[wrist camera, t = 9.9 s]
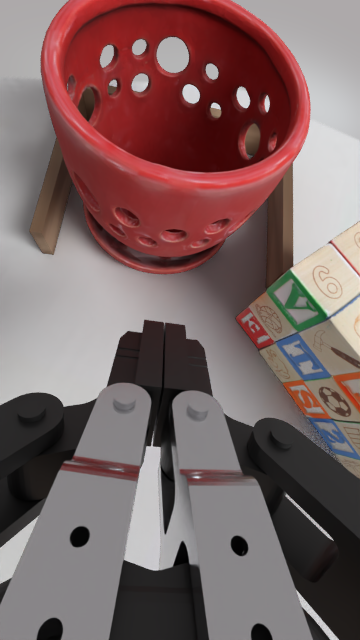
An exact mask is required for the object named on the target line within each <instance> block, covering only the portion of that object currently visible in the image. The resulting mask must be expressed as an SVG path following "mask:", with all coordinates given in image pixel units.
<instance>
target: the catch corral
mask: <svg viewBox="0 0 360 640" xmlns="http://www.w3.org/2000/svg"><path fill="white" fill-rule="evenodd" d="M116 88H117V87H114V86H109V85H108V94H109V95H112V94H113V93H114V92H115V91H116ZM134 92H137V91H134ZM137 93H140V92H137ZM94 104H95V99H94V93H93V91H92V89H91V88H90V87H87V88H86V90H85V91H84V92H83V94H82V96H81V99H80V101H79V104H78V111H79V112H80V113H81V115H82V116H83V117H84V118H85V119H86V120H87V122H88V121H89V120H90V118H91V116H92V113H93V110H94ZM190 104H192V103H190ZM210 111H211V114H212V115H213V117H214V118H219V117H220V115H221V110H219V109H215V108H210ZM259 142H260V131H259V129H258V127H257V125H256V124H252V125H251V126H250V128H249V129H248V131H247V133H246V138H245V151H246V154H251V155H255V154H256V152H257V150H258V147H259ZM275 146H276V144H275ZM71 185H72V179H71V176H70V174H69V172H68V169H67V167H66V164H65V161H64V158H63V155H62V151H61V148H60V145H59V142H58V139H57V138H56V141H55V145H54V148H53V152H52V155H51V158H50V162H49V165H48V169H47V172H46V175H45V179H44V182H43V186H42V189H41V193H40V196H39V199H38V203H37V206H36V210H35V213H34V217H33V220H32V223H31V227H30V230H29V231H30V233H31V235H32V236H33V238H34V240H35V241H36V243H37V245H38V246H39V248H40V249H41V251H42V253H45V254H52V255H54V251H55V247H56V243H57V239H58V235H59V232H60V228H61V224H62V220H63V216H64V212H65V208H66V204H67V201H68V197H69V193H70V189H71ZM292 267H293V163H292V164H291V166H290V167H289V169H288V170H287V172H286V173H285V175H284V176H283V178H282V179H281V181H280V182H279V183H278V185H277V186H276V187H275V189H274V190H273V192H272V193H271V194H270V195H269V197H268V222H267V265H266V288H267V289H268V288H269V287H270V286H271V285H272V284H273V283H274V282H276V281H277V280H278V279H279V278H280V277H281V276H282V275H283V274H284V273H286V272H287V271H288V270H289V269H290V268H292Z"/></svg>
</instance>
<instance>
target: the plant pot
mask: <svg viewBox="0 0 360 640" xmlns="http://www.w3.org/2000/svg"><path fill="white" fill-rule="evenodd" d="M168 37H177V38H179V39H181V40H182V41H183V42H184V43H185V45H186V46H187V49H188V52H189V62H188V65H187V67H186V68H185V69H184V70H183V71H181V72H178V73H169V72H167V71H165V70H164V69H162V67H161V66H160V65H159V63H158V61H157V57H156V53H157V49H158V46H159V44H160V42H161V41H162V40H164V39H165V38H168ZM139 39H143V40H145V41H146V44H147V46H146V49H145V51H144V52H143V53H142V54H141V55H134V54H133V52H132V46H133V44H134V42H135V41H136V40H139ZM107 45H112V46H113V47H114V56H113V59H112V61H111V62H110V63H109V65H107V66H106V67H104V68H102V67H101V65H100V56H101V53H102V50H103V48H104V47H105V46H107ZM209 63H212V64H214V65H215V66H216V67H217V68H218V72H219V74H218V78H217V79H215V80H212V79H210V78H209V77H208V76H207V74H206V70H205V69H206V65H207V64H209ZM140 73H144V74H146V75H147V76H148V79H149V83H148V86H147V88H146V89H145V90H144V91H143V92H140V93H137V92H134V91H133V90H132V87H131V84H132V81H133V79H134V77H135V76H136V75H138V74H140ZM41 75H42V81H43V87H44V92H45V96H46V101H47V105H48V109H49V113H50V117H51V120H52V124H53V127H54V130H55V133H56V136H57V139H58V142H59V145H60V148H61V151H62V155H63V158H64V161H65V164H66V167H67V169H68V172H69V174H70V176H71V179H72V181H73V183H74V185H75V187H76V189H77V191H78V193H79V195H80V197H81V199H82V200H83V208H84V214H85V218H86V222H87V224H88V227H89V229H90V231H91V233H92V235H93V236H94V238H95V239H96V241H97V242H98V243H99V245H100V246H101V247H102V248H103V249H104V250H105V251H106V252H107V253H108V254H109V255H111V256H112V257H113V258H115V259H116V260H118V261H119V262H121V263H122V264H124V265H126V266H128V267H131V268H133V269H136V270H139V271H142V272H147V273H154V274H174V273H181V272H184V271H188V270H191V269H193V268H196V267H198V266H200V265H201V264H203V263H205V262H206V261H207V260H209V259H210V258H211V257H212V256H214V255H215V254H216V253H217V251H218V250H219V249H220V248H221V246H222V245H223V243H224V242H225V240H226V238H227V237H229V236H230V235H231V234H232V233H234V232H235V231H236V230H237V229H238V228H240V227H241V226H242V225H243V224H244V223H245V222H246V221H247V220H248V219H249V218H250V217H251V216H252V215H253V214H254V213H255V211H256V210H257V209H258V208H259V207H260V206H261V205H262V204H263V203H264V202H265V200H266V199H267V198H268V197H269V195H270V194H271V193H272V192H273V190H274V189H275V187H276V186H277V185H278V183H279V182H280V181H281V179H282V178H283V176H284V175H285V173H286V172H287V170H288V169H289V167H290V166H291V164H292V163H293V161H294V160H295V158H296V157H297V155H298V154H299V152H300V150H301V148H302V146H303V144H304V142H305V139H306V136H307V133H308V129H309V122H310V110H311V109H310V97H309V92H308V87H307V84H306V81H305V78H304V75H303V74H302V71H301V69H300V67H299V65H298V63H297V61H296V59H295V58H294V56H293V54H292V53H291V51H290V50H289V49H288V47H287V46H286V45H285V44H284V42H283V41H282V40H281V39H280V38H279V36H278V35H277V34H276V33H275V32H274V31H273V30H272V29H271V28H270V27H268V26H267V25H266V24H265V23H264V22H263V21H261V20H260V19H259V18H257V17H256V16H254V15H253V14H251V13H250V12H249V11H247V10H246V9H244V8H242V7H241V6H240V5H238V4H236V3H234V2H233V1H231V0H69V1H68V2H67V3H66V4H65V5H64V6H63V7H62V8H61V9H60V10H59V12H58V13H57V14H56V16H55V17H54V19H53V20H52V22H51V24H50V26H49V28H48V30H47V32H46V35H45V38H44V41H43V46H42V51H41ZM112 80H116V81H117V88H116V91H115V92H114V93H113V94H112V95H109V94H108V85H109V83H110V82H111V81H112ZM67 83H68V91H67ZM187 84H191V85H194V86H195V87H196V88H197V89H198V90H199V92H200V99H199V101H198V102H197V103H195V104H190V103H188V102H187V101H186V100H185V99H184V97H183V95H182V91H183V87H184V86H185V85H187ZM241 86H242V87H244V88H246V90H247V93H248V95H249V97H250V105H249V107H248V108H243V107H242V106H241V105H240V104H239V102H238V100H237V96H236V94H237V90H238V88H239V87H241ZM87 87H90V88H91V89H92V91H93V93H94V99H95V104H94V110H93V113H92V116H91V118H90V120H89V122H87V120H86V119H85V118H84V117H83V116H82V115H81V113H80V112H79V111H78V104H79V101H80V99H81V96H82V94H83V92H84V91H85V90H86V88H87ZM267 95H268V97H269V100H270V107H269V111H268V112H266V111H265V105H264V102H265V98H266V96H267ZM212 103H217V104H219V105H220V107H221V115H220V117H219V118H214V117H213V115H212V114H211V111H210V108H211V104H212ZM252 124H256V125H257V127H258V129H259V131H260V142H259V147H258V150H257V152H256V154H255V155H254V156H253V157H252V158H251V159H249V158H248V156H247V154H246V151H245V138H246V133H247V131H248V129H249V128H250V126H251V125H252ZM275 144H276V146H275Z"/></svg>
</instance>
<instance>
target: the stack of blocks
mask: <svg viewBox="0 0 360 640" xmlns="http://www.w3.org/2000/svg"><path fill="white" fill-rule="evenodd" d="M236 320H237V321H238V323H239V324H240V325H241V327H242V328H243V329H244V331H245V332H246V333H247V335H248V336H249V337H250V338H251V340H252V341H253V343H254V344H255V345H256V347H257V348H258V349H259V352H260V354H261V355H262V357H263V358H264V359H265V361H266V362H267V364H268V365H269V366H270V368H271V369H272V370H273V372H274V373H275V374H276V376H277V377H278V378H279V380H280V381H281V382H282V383H283V385H284V387H285V388H286V390H287V391H288V392H289V394H290V395H291V397H292V398H293V399H294V401H295V402H296V404H297V405H298V406H299V408H300V409H301V410H302V412H303V413H304V415H305V416H307V417H308V418H309V420H310V421H311V423H312V424H313V425H314V427H315V428H316V429H317V431H318V432H319V434H320V435H321V436H322V438H323V439H324V440H325V442H326V443H327V444H328V446H329V447H330V449H331V450H332V451H333V452H334V453H335V455H336V456H337V458H338V459H339V461H340V462H341V463H342V465H343V466H344V467H345V468H346V469H347V470H349V471H350V472H351V473H352V474H354V475H355V476H356V477H358V478H359V479H360V221H359V222H357V223H356V224H354V225H353V226H352V227H350V228H349V229H347V230H346V231H344V232H343V233H341V234H340V235H338V236H337V237H335V238H334V239H332V240H331V241H330V242H328V243H327V244H326V245H325V246H323V247H322V248H320V249H318V250H317V251H316V252H314V253H313V254H311V255H310V256H308V257H307V258H305V259H304V260H302V261H301V262H299V263H298V264H296V265H295V266H293V267H292V268H290V269H289V270H288V271H287V272H286V273H284V274H283V275H282V276H281V277H280V278H279V279H278V280H277V281H276V282H274V283H273V284H272V285H271V286H270V287H269V288H268V289H267V290H266V292H264V293H263V294H262V295H260V296H259V297H258V298H257V299H256V300H254V301H253V302H252V303H251V304H250V305H249V307H247V308H246V309H245V310H243V311H242V312H241V313H240V314H239V315H238V316H237V317H236Z"/></svg>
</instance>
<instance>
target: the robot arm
mask: <svg viewBox="0 0 360 640" xmlns="http://www.w3.org/2000/svg"><path fill="white" fill-rule="evenodd" d="M153 431H154V435H153ZM152 436H153V446H155V447H161V458H160V463H159V467H158V489H159V513H160V537H161V545H160V558H159V570H158V571H153V570H149V569H146V568H144V567H141V566H138V565H136V564H133V563H130V562H128V561H125V560H124V556H125V550H126V545H127V539H128V533H129V528H130V522H131V517H132V511H133V505H134V500H135V494H136V489H137V483H138V477H139V472H140V468H141V466H142V464H143V462H144V456H145V451H146V446H151V442H152ZM286 493H287V494H288V495H289V496H290V497H291V498H292V499H293V500H294V501H295V502H296V503H297V504H298V505H299V506H300V507H301V508H302V509H303V510H304V511H305V512H306V513H307V514H308V515H310V516H311V517H312V518H313V519H314V520H315V521H316V522H317V523H318V524H319V525H320V526H321V527H322V528H323V529H324V530H325V531H326V532H327V533H328V534H329V535H330V536H331V537H332V539H333V540H334V541H333V540H331V539H329V538H328V537H327V536H326V535H324V534H323V533H322V532H321V531H320V530H319V529H318V528H317V527H316V526H315V525H314V524H313V523H312V522H311V521H310V520H309V519H308V518H307V517H306V516H305V515H304V514H303V513H302V512H301V511H300V510H299V509H298V508H297V507H296V506H295V505H294V504H293V503H292V502H291V501H290V500H289V499H288V498H287V497H285V495H286ZM37 516H39V517H38V520H37V522H36V524H35V527H34V529H33V531H32V533H31V536H30V538H29V540H28V543H27V545H26V547H25V549H24V552H23V554H22V556H21V558H20V561H19V563H18V565H17V568H16V570H15V572H14V574H13V577H12V578H11V579H9V580H7V581H5V582H3V583H1V584H0V640H330V639H329V638H328V636H327V635H326V634H325V633H324V631H323V630H322V629H321V628H320V626H319V625H318V624H317V623H316V622H315V620H314V619H313V618H312V617H311V616H310V615H309V614H308V613H307V612H306V611H305V610H304V609H303V608H302V607H301V604H300V601H299V598H298V595H297V592H296V590H297V591H298V592H299V593H300V594H301V596H302V597H303V598H304V599H305V600H306V601H307V603H308V604H309V605H310V606H311V607H312V608H313V610H314V611H315V612H316V613H317V614H318V615H319V617H320V618H321V619H322V620H323V621H324V622H325V624H326V625H327V626H328V627H329V628H330V630H331V631H332V632H333V633H334V634H335V635H336V637H337V638H338V639H339V640H360V479H359V478H358V477H356V476H355V475H354V474H352V473H351V472H350V471H349V470H347V469H346V468H345V467H344V466H342V465H341V464H340V463H339V462H337V461H336V460H335V459H333V458H332V457H331V456H330V455H328V454H327V453H326V452H325V451H323V450H322V449H321V448H320V447H318V446H317V445H316V444H314V443H313V442H312V441H311V440H309V439H308V438H307V437H306V436H304V435H303V434H302V433H301V432H299V431H298V430H297V429H295V428H294V427H293V426H291V425H290V424H288V423H286V422H284V421H282V420H279V419H275V418H264V419H261V420H259V421H258V422H257V423H256V424H255V425H254V427H252V426H249V425H246V424H244V423H241V422H238V421H236V420H234V419H232V418H230V417H228V416H227V415H225V414H224V413H223V409H222V407H221V405H220V404H219V402H218V401H217V400H216V399H215V398H213V395H212V390H211V384H210V379H209V373H208V368H207V362H206V356H205V351H204V348H203V347H202V346H201V344H200V343H199V342H198V341H197V340H192V339H186V331H185V325H179V324H172V323H165V326H164V322H157V321H149V320H144V326H143V333H138V332H131V331H128V332H127V333H125V334H124V335H123V336H122V337H121V338H120V340H119V344H118V348H117V351H116V355H115V359H114V362H113V366H112V370H111V373H110V377H109V381H108V384H107V387H106V388H105V389H103V390H102V391H101V393H100V394H99V396H98V398H96V399H95V400H93V401H90V402H88V403H85V404H80V405H73V406H66V407H63V404H62V402H61V401H60V400H59V399H58V398H57V397H55V396H53V395H51V394H47V393H29V394H25V395H21V396H19V397H16V398H14V399H12V400H10V401H8V402H6V403H4V404H2V405H0V547H2V546H3V545H4V544H5V543H6V542H8V541H9V540H10V539H11V538H12V537H14V536H15V535H16V534H17V533H18V532H20V531H21V530H22V529H23V528H24V527H25V526H27V525H28V524H29V523H30V522H31V521H33V520H34V519H35V518H36V517H37ZM295 588H296V589H295Z"/></svg>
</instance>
